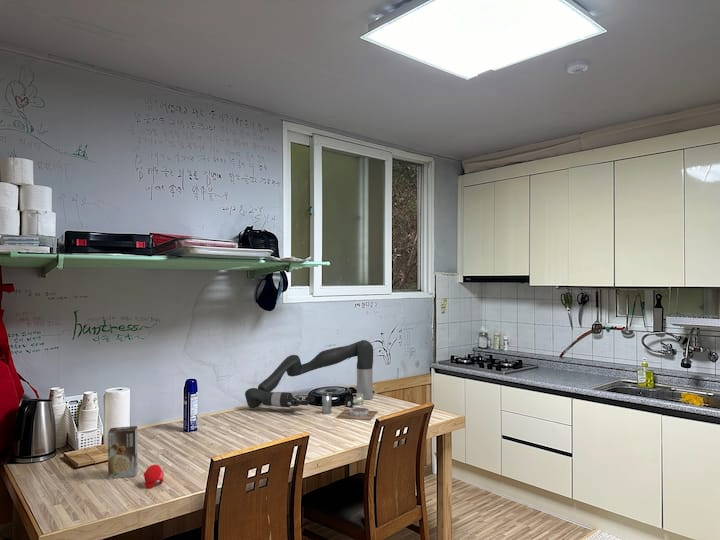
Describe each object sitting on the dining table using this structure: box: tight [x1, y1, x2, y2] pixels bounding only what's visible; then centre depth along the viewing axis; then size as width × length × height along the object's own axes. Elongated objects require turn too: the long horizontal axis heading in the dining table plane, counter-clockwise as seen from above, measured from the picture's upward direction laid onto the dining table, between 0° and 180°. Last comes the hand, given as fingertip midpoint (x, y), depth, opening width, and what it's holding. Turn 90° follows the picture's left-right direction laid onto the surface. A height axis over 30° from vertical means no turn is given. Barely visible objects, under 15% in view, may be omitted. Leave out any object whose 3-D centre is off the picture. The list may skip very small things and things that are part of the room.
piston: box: [321, 391, 332, 415], centre depth 258 cm, size 5×5×11 cm
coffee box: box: [107, 425, 139, 479], centre depth 179 cm, size 9×6×16 cm
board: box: [335, 408, 379, 422], centre depth 254 cm, size 18×18×1 cm
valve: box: [343, 392, 364, 409], centre depth 273 cm, size 7×7×12 cm
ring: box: [349, 406, 370, 417], centre depth 253 cm, size 9×9×2 cm
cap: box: [143, 464, 165, 490], centre depth 170 cm, size 8×6×6 cm
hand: (311, 401), depth 260 cm, fingers open, 8 cm apart
